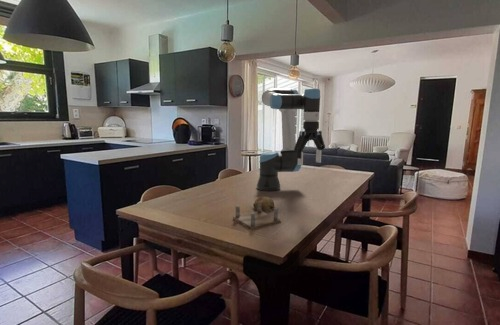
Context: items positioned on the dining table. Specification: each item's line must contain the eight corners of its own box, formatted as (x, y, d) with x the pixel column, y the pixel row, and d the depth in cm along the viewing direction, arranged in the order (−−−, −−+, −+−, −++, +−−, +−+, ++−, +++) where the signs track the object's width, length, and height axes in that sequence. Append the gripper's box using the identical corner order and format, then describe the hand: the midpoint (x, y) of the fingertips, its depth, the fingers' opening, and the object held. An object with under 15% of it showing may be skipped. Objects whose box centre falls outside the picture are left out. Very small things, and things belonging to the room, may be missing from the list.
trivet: (233, 219, 126) (233, 205, 125) (260, 213, 134) (260, 200, 133) (252, 230, 114) (252, 215, 113) (280, 222, 122) (280, 208, 121)
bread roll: (264, 219, 136) (270, 206, 133) (248, 207, 140) (254, 194, 137) (273, 213, 144) (280, 201, 141) (258, 202, 148) (264, 190, 145)
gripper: (299, 121, 128) (297, 167, 131) (333, 120, 142) (331, 162, 146) (287, 121, 134) (286, 165, 137) (321, 120, 148) (319, 160, 152)
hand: (309, 163), depth 141 cm, fingers open, 13 cm apart
